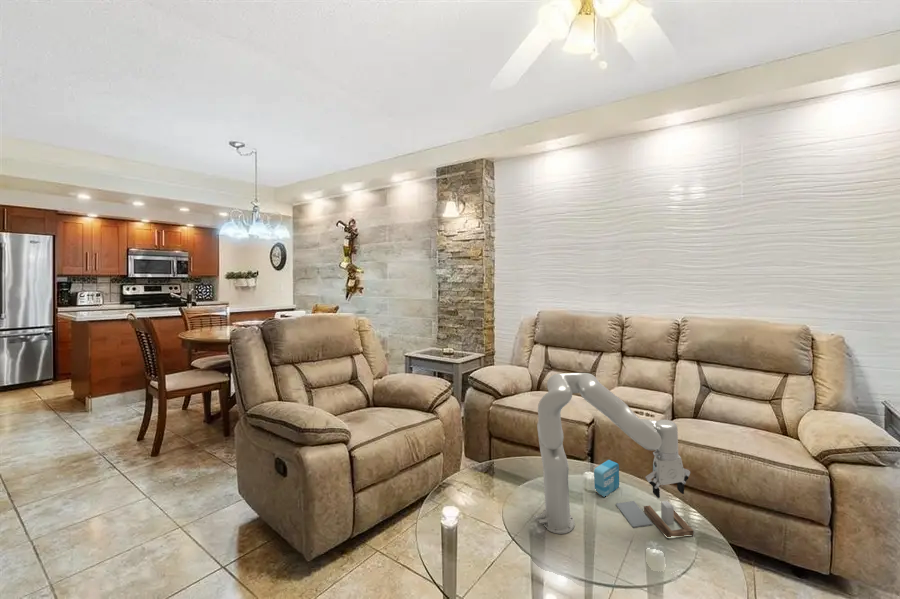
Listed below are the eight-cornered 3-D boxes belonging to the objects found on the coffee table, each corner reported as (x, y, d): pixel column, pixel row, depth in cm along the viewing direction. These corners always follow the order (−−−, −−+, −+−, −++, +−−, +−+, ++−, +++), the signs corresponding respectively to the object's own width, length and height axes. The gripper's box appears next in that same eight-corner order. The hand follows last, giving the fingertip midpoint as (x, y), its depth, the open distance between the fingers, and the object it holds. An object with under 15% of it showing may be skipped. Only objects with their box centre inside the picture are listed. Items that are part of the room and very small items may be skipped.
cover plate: (669, 535, 153) (669, 515, 152) (651, 514, 165) (650, 496, 164) (685, 533, 153) (684, 513, 152) (665, 512, 165) (665, 493, 164)
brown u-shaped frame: (667, 539, 151) (667, 534, 151) (644, 511, 167) (643, 506, 166) (693, 535, 152) (693, 530, 151) (667, 507, 167) (667, 503, 167)
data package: (603, 498, 177) (602, 473, 175) (594, 493, 181) (593, 468, 179) (619, 486, 183) (618, 462, 182) (610, 482, 187) (609, 458, 185)
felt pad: (633, 527, 158) (632, 526, 158) (615, 504, 172) (615, 503, 172) (652, 525, 159) (652, 523, 159) (634, 502, 173) (633, 500, 172)
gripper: (650, 461, 150) (652, 503, 153) (695, 454, 151) (696, 496, 154) (639, 451, 158) (641, 491, 160) (682, 444, 159) (683, 484, 161)
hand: (668, 493), depth 157 cm, fingers open, 9 cm apart
